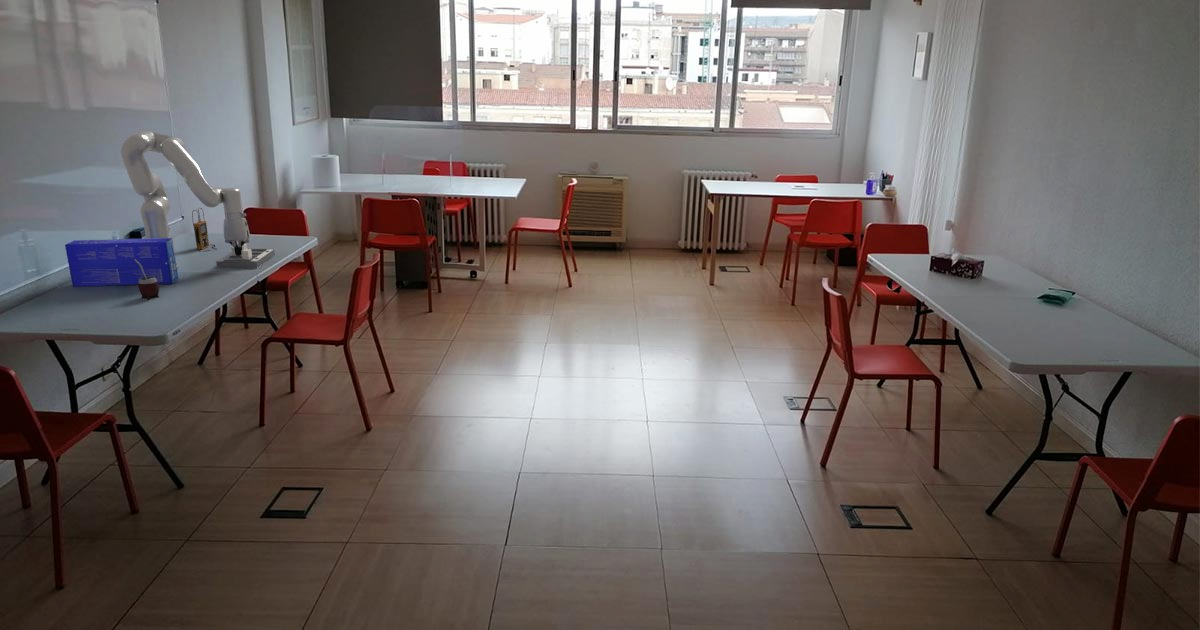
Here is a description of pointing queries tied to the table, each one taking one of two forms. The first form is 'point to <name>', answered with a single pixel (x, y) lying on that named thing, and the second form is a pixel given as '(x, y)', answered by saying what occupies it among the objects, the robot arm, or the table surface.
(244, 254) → the tab
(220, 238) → the table surface
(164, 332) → the table surface
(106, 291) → the table surface
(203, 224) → the multimeter
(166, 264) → the toner cartridge box
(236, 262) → the switch bank
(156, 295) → the mate gourd
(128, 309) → the table surface
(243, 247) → the tab
